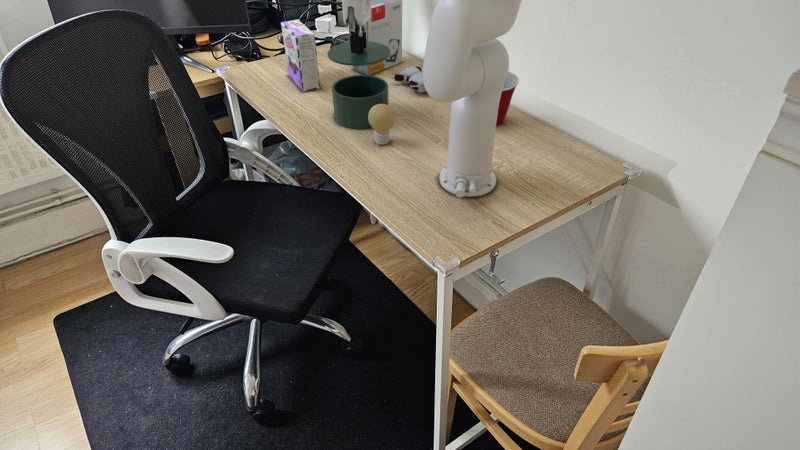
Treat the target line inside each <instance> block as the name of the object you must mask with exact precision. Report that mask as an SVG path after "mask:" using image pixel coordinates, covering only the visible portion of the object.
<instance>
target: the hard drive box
mask: <svg viewBox="0 0 800 450" xmlns="http://www.w3.org/2000/svg"><path fill="white" fill-rule="evenodd" d="M370 1H371V16H370V18H369V19H368V21H367V22H366V24H365V28H366V29H365V31H363V32H366V41H371V42H377V43H381V44H384V45H386V46H387V47H388V48H389V49H390V55H389V57H388V58H387V59H385V60H383V61H381V62H378V63H374V64H370V65H361V66H352V70H354V71H356V72H359V73H361V74H362V75H371V76H372V75H373V74H378V73H379V72H381V71H384V70H387V69H389V68H391V67H394V66H397V65H398V64H402V61H403V0H370ZM356 23H357V22H356Z"/></svg>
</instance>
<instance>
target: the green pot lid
mask: <svg viewBox="0 0 800 450" xmlns="http://www.w3.org/2000/svg"><path fill="white" fill-rule="evenodd" d="M361 31H362V30H361ZM362 36H363V31H362ZM366 44H367V47H366V49H364V52H363V53H351V48H350V41H347V42H342V43H339V44H336V45H334V46H332V47H330V49H328V51H327V58H328V59H329V60H330V61H331V62H333V63H335V64H339V65H343V66H351V67H353V66H361V65H370V64H374V63H378V62H381V61H383V60H385V59H387V58H388V57H389V55H390V49H389V48H388V47H387V46H386V45H384V44H381V43H377V42H371V41H366Z"/></svg>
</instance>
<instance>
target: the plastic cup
mask: <svg viewBox="0 0 800 450" xmlns="http://www.w3.org/2000/svg"><path fill="white" fill-rule="evenodd" d="M519 83H520V80H519V77H518V75H517V74H515V73H513V72H511V71H508V74H507V78H506V81H505V84H504V87H503V90H502V93H501V97H500V102H499V108H498V115H497V122H496V127H497V126H498V127H499V126H501V125H503V124H504V122H505V119H506V116H507V114H508V111H509V108H510V105H511V102H512V98H513V96H514V93H515V90H516V88H517V86H518V85H519Z"/></svg>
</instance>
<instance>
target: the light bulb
mask: <svg viewBox="0 0 800 450" xmlns="http://www.w3.org/2000/svg"><path fill="white" fill-rule="evenodd" d="M368 120H369V123H370V125H371V126H372V129H373V130H374V132H373V135H374V143H376V144H377V145H381V146H383V145H387V144H388V143H389V142H390V129H391V128H392V127H393V124H394V123H395V112H394V110H393V108H392V107H391V106H390V105H389V106H388V105H386V104H377V105H375V106H373V107H372V108H371V109H370V111H369V114H368Z"/></svg>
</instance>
